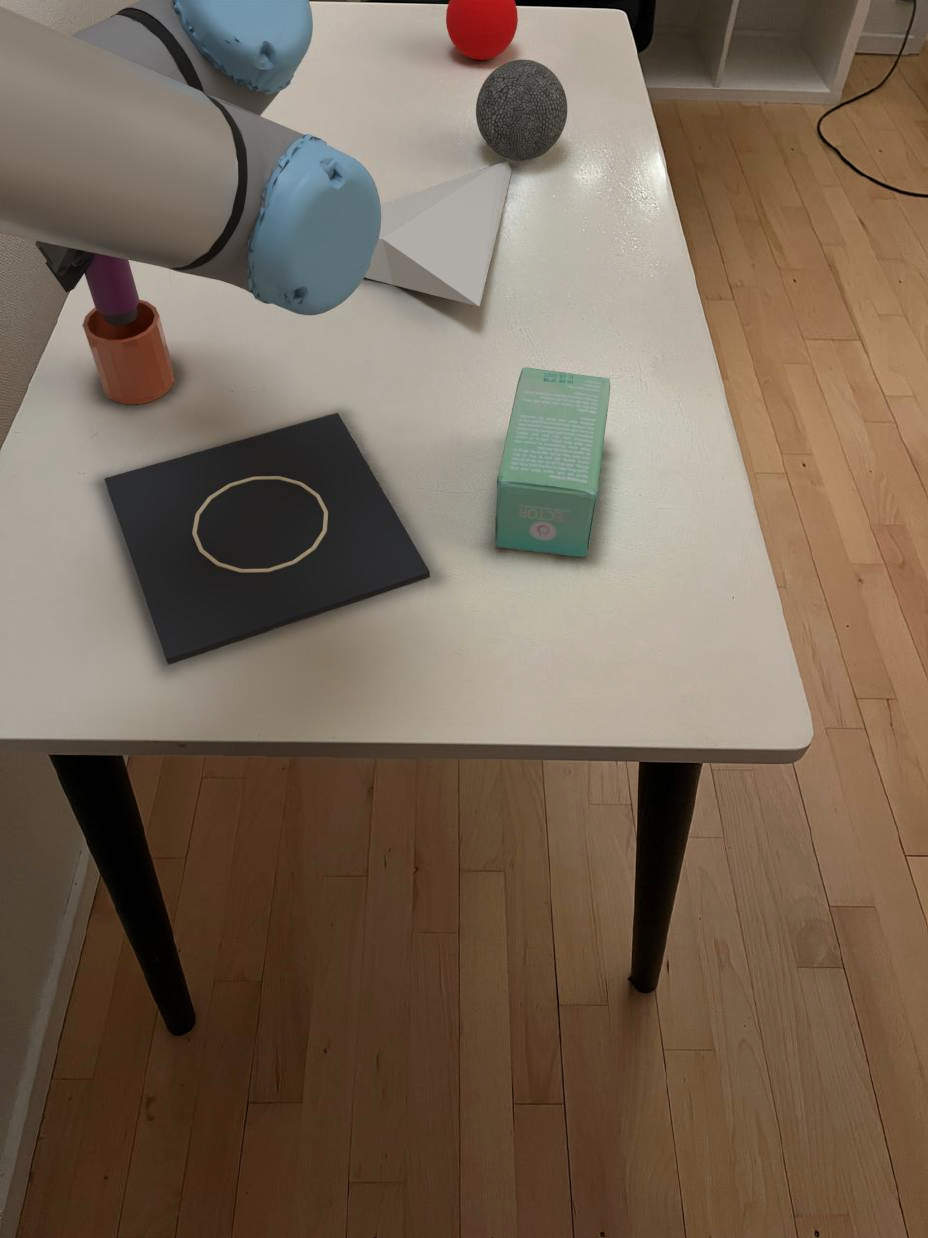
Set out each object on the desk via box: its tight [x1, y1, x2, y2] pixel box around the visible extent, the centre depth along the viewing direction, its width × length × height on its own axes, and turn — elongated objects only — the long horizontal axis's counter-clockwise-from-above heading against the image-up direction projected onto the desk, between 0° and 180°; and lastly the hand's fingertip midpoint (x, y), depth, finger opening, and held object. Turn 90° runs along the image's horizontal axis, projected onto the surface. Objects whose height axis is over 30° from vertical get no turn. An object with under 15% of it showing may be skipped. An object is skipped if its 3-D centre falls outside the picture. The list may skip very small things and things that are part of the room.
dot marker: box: [84, 252, 140, 325], centre depth 84 cm, size 4×4×10 cm
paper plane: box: [364, 160, 513, 307], centre depth 108 cm, size 26×28×4 cm
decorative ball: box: [475, 59, 568, 162], centre depth 116 cm, size 10×10×10 cm
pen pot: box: [82, 299, 175, 406], centre depth 91 cm, size 6×6×6 cm
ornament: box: [445, 0, 519, 61], centre depth 132 cm, size 9×9×10 cm
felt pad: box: [104, 412, 431, 664], centre depth 82 cm, size 20×20×1 cm
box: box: [494, 367, 611, 558], centre depth 82 cm, size 7×14×8 cm, turn 171°
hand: (81, 264), depth 88 cm, fingers closed on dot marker, 4 cm apart
